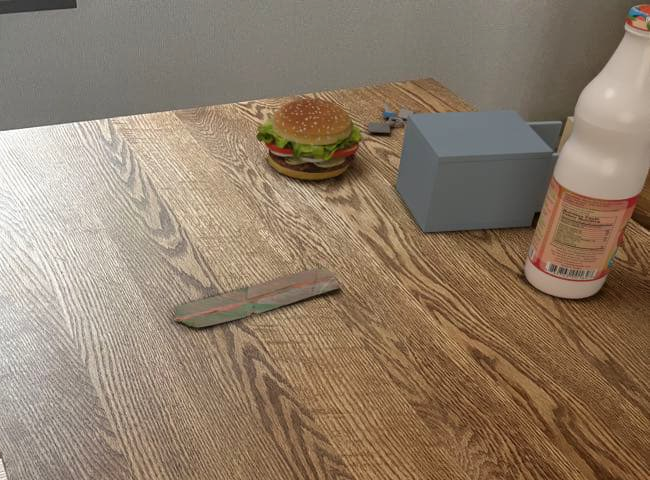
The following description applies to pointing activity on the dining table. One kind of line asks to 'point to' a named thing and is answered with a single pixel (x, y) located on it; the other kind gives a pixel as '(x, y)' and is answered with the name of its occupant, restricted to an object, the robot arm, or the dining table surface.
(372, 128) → the key chain
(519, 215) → the cabinet
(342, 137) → the food
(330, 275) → the map
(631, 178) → the fruit juice
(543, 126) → the drawer
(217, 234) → the dining table surface
